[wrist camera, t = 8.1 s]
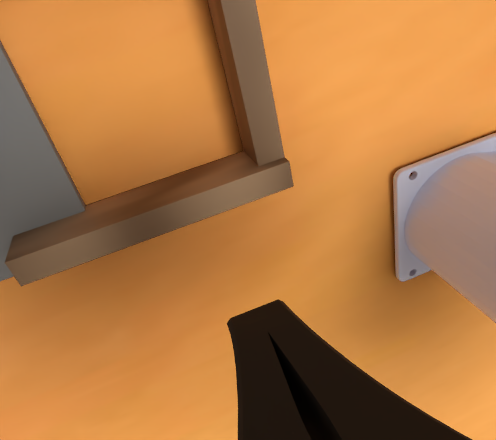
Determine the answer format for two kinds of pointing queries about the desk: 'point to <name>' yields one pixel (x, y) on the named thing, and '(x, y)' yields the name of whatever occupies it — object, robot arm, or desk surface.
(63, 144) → the desk surface
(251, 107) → the shelf bay
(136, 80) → the desk surface
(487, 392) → the desk surface
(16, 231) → the mat
